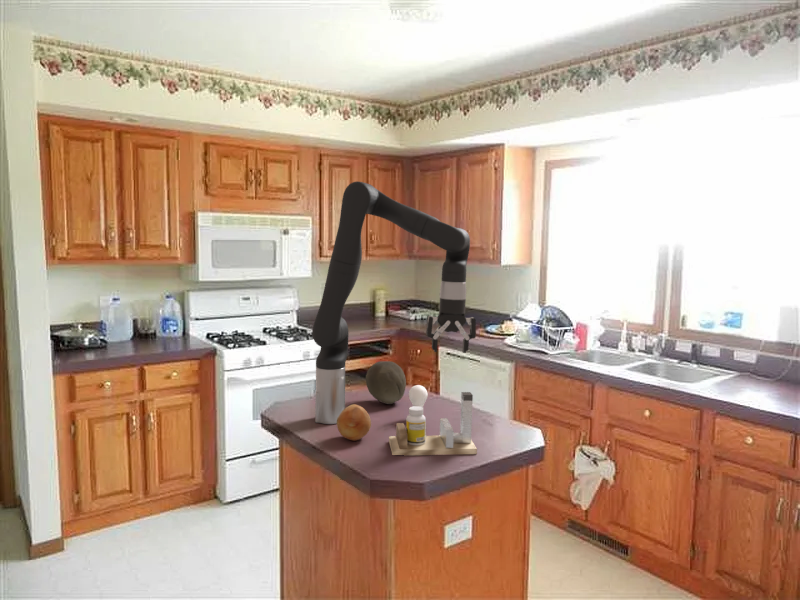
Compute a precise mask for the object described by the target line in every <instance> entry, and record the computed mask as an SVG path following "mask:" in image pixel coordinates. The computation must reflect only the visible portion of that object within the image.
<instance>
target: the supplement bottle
mask: <svg viewBox="0 0 800 600" xmlns="http://www.w3.org/2000/svg"><path fill="white" fill-rule="evenodd" d="M405 422H406V425H405V429H406V432H407V443H408V444H410V445H416V446H417V445H423V444H424V443H425V441H426V436H427V431H426V430H427V429H426V428H427V426H426V425H427V419H426V416H425V415H424V407H423V408H422V407H419V406H413V405H412V406H410V407H409V408H408V415H407V416H406V419H405Z"/></svg>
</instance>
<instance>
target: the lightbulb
mask: <svg viewBox="0 0 800 600" xmlns="http://www.w3.org/2000/svg"><path fill="white" fill-rule="evenodd" d="M428 396H429V395H428V391H427V389H426V387H425V386H423V385H420V384H417V385H413V386H412V387H410V389H409V391H408V398H409V401H410V403H411V405H412V407H413V406H419V407H422V408H423V409H424V405H425V403H426V401H427V400H428Z"/></svg>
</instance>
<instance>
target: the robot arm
mask: <svg viewBox="0 0 800 600" xmlns="http://www.w3.org/2000/svg"><path fill="white" fill-rule="evenodd" d="M341 201H342V202H341V209H340V216H339V223H338V228H337V232H336V236H335V239H334V240H335V241H334V245H333V249H332V252H331V256H330V260H329V265H328V269H327V275H326V279H325V283H324V289H323V293H322V296H321V297H322V298H321V303H320V305H319V307H318V311H317V314H316V316H315V319H314V323H313V325H312V329H311V330H312V333H311V335H312V337H313V338H312V339H313V341H314V343H315V344H316V345H317V346H319V347H320V350H319V353H318V355H317V357H316V358H315V396H314V397H315V399H314V400H315V401H314V402H315V410H314V411H315V412H314V413H315V414H314V415H315V417H314V418H315V421H314V422H315V423H318V424H325V425H333V424H337V418H338V417H339V415H340V413H341V412H342V411H343V410H344V409H345V408H346V361H347V359H348V356H349V355H348V352H349V326H348V323H347V321H346V319H344V317H342V315H343V312H344V311H343V310H344V307H345V304H346V301H347V300H348V298H349V297H350V294H351V292H352V290H353V289H354V287H355V285H356V283H357V280H358V276H359V273H360V270H361V264H362V260H363V259H362V258H363V251H362V250H363V249H362V248H363V247H362V229H363V224H364V222H365V218H366V215H371V216H374V217H377V218H381V219H384V220H386V221H389V222H390V223H392V224H394V225H396V226H398V227H399V228H400V229H402V230H404V231H406V232H408V233H409V234H412V235H414V236H416V237H419V238H420V239H423V240H425V241H429V242H431V243H432V245H433V244H434V245H435V246H437V247H439V248H440V249H443V250H444V251H446V252H445V260H444V262H443V264H442V267H441V283H440V289H439V304H438V305H439V308H438V316H432V315H428V316H427V320H426V321H427V322H426V331H425V334H426V336H427V338H431V349H432V350H433V351H434V353H437V352H438V341H439V339H438V338H439V336H441V335H442V334H443V332H446V333H450V332H453V333H458V332H459V333H460V335H461V336H462V337H463V339H462V349H461V350H462V353H464V354H466V353H467V352H468V350H469V344H470V343H469V342H470V340H472V339H475V338H476V337H477V336H476V335H477V334H476V331H477V330H476V329H477V328H476V326H477V325H476V323H477V322H476V318H475V317H473V316H470V317H466V301H467V299H466V298H467V284H466V283H467V282H466V281H467V264H468V258H469V253H470V248H471V247H470V246H471V238H470V235H469V233H468V231H467V230H465V229H464V228H461V227H455V226H452V225H450V224H448V223H445V222H442V221H440V219H438V218H437V217H435V216H433V215H430V214H428V213H425V212H423V211H421V210H419V209H416V208H414V207H411V206H408V205H405V204H404V203H401V202H400V201H399V202H398V201H397V200H395V199H393V198H391V197H389V196H387V194H385V193H384V192H382V191H380V190H378V189H377V188H375V186H373V185H372V184H369V183H367V182H363V181H353V182H351V183H349V184H348V185H347V186H346V187H345V189H344V192H343V194H342V199H341ZM436 322H437V323H438V324H439V326H438V327H437V328H436V329H435V331H434V332H432V331H433V325H434V324H436ZM466 323H467V325H468V326H469V333H467V332H466V330H465V328H464V327H463V326H464V325H465V324H466Z"/></svg>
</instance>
